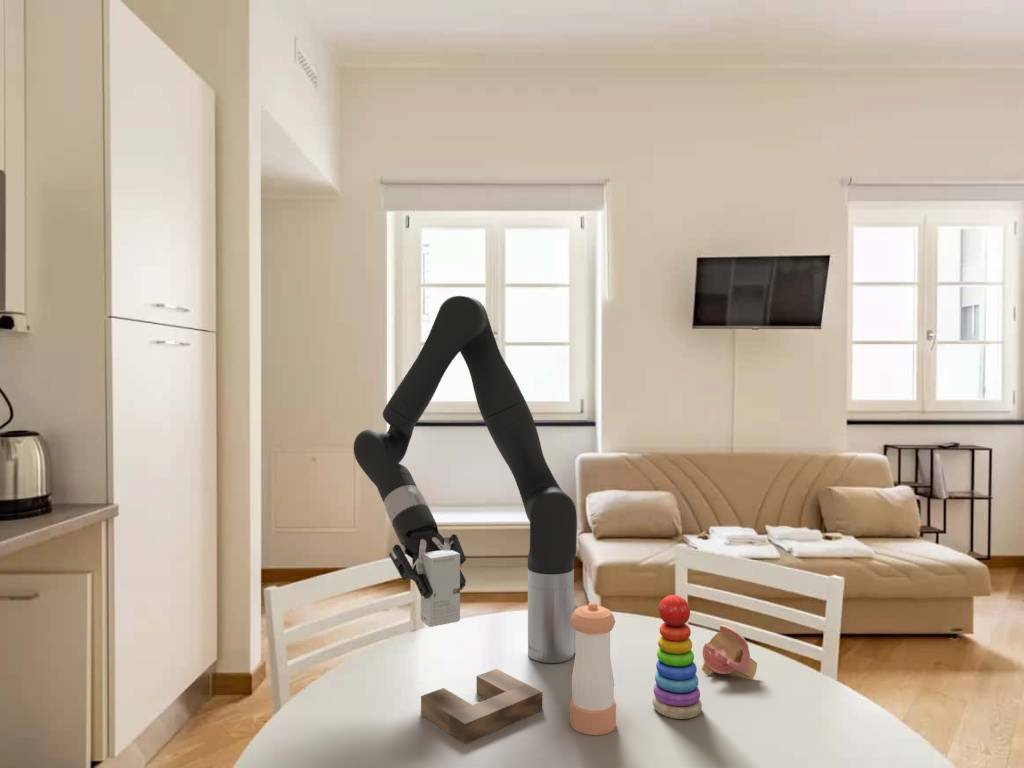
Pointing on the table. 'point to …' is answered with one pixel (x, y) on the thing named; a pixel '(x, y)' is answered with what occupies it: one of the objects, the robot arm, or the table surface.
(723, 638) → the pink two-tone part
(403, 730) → the table surface
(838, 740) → the table surface
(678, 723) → the table surface
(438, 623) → the skincare box
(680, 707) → the stacking toy
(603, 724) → the pepper shaker
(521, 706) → the notched board
